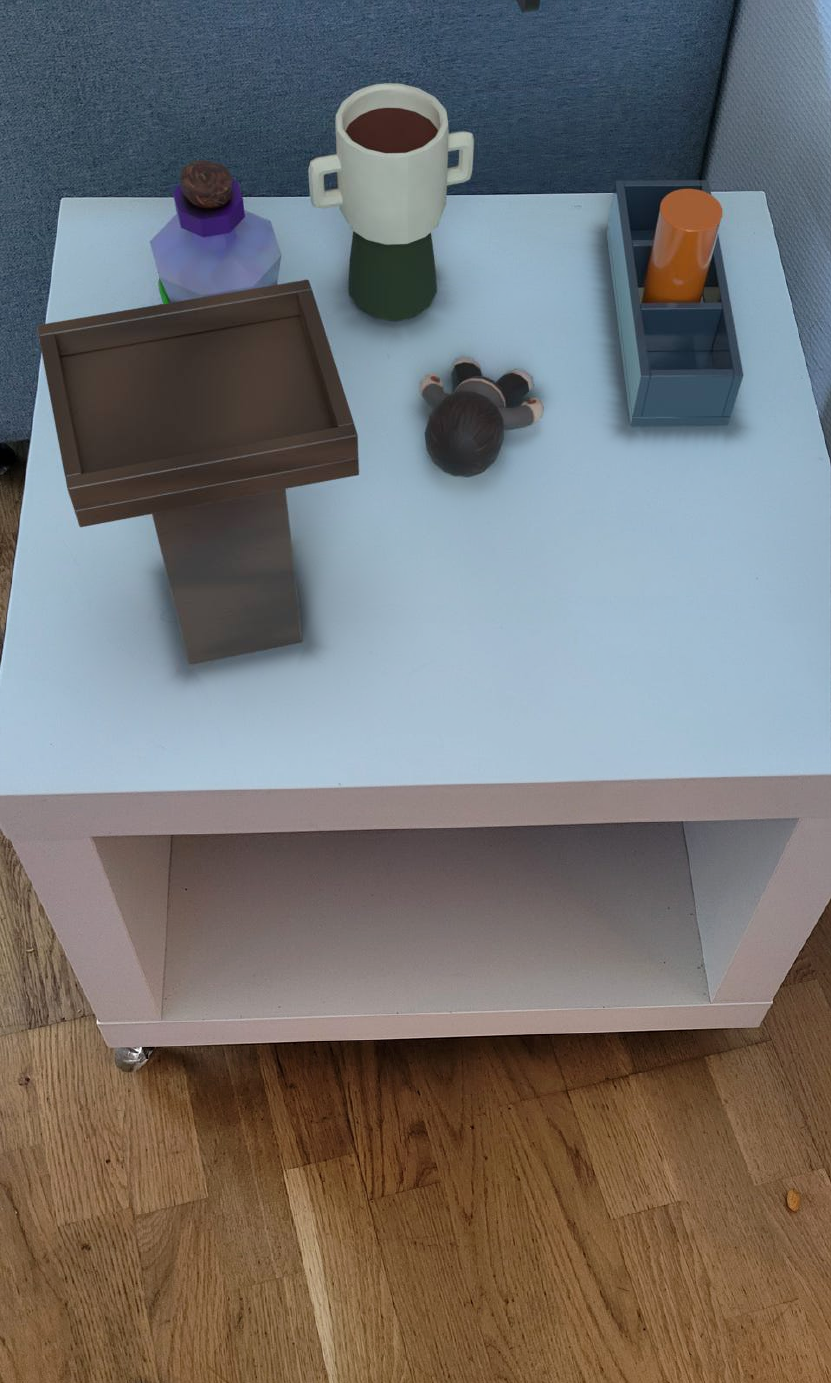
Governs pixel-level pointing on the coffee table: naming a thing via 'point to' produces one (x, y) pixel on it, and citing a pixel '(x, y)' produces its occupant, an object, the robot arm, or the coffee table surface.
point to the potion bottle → (213, 239)
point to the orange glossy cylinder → (682, 247)
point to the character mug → (391, 192)
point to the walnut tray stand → (205, 445)
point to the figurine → (475, 416)
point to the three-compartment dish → (669, 322)
